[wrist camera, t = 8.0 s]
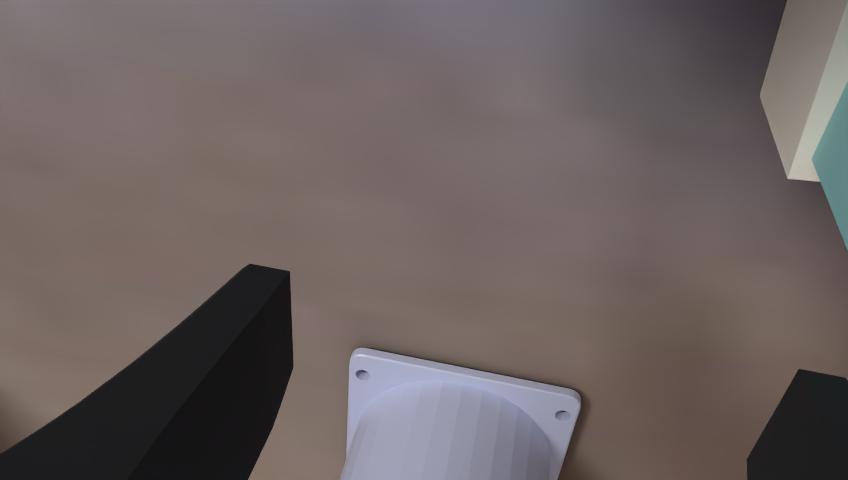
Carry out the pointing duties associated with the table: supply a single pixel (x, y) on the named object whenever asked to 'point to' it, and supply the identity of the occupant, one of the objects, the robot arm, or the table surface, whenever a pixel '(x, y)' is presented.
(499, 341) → the table surface
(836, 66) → the cream block
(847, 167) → the teal cube
